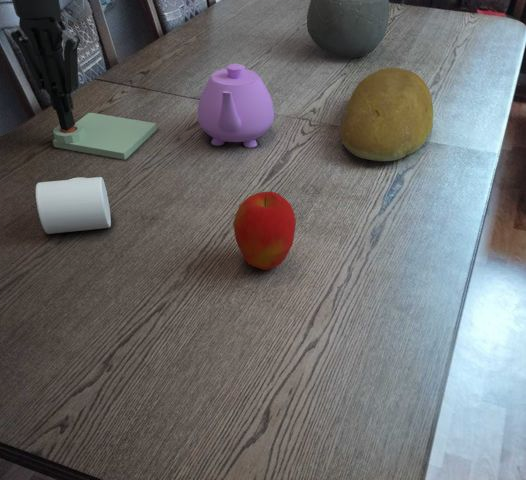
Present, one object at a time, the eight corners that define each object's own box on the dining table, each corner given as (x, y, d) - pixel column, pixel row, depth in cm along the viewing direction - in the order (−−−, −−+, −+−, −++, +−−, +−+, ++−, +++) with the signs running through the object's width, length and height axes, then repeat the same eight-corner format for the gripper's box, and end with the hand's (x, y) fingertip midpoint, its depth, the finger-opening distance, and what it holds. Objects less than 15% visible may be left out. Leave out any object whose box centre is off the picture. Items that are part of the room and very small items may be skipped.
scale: (51, 147, 110) (47, 133, 108) (89, 118, 120) (86, 104, 117) (124, 160, 107) (121, 146, 105) (157, 129, 116) (155, 115, 114)
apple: (254, 239, 89) (254, 170, 80) (304, 256, 86) (309, 187, 77) (223, 269, 84) (219, 199, 75) (275, 289, 80) (277, 218, 72)
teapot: (267, 166, 106) (268, 92, 96) (187, 161, 107) (180, 88, 97) (278, 117, 121) (280, 49, 111) (208, 113, 122) (204, 45, 112)
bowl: (291, 56, 147) (294, -9, 136) (327, 35, 159) (332, -26, 148) (363, 73, 139) (372, 5, 128) (395, 49, 151) (406, -15, 141)
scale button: (59, 137, 110) (57, 129, 108) (67, 131, 111) (65, 124, 110) (72, 139, 109) (70, 132, 108) (79, 133, 111) (77, 126, 110)
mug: (111, 237, 89) (101, 193, 83) (47, 243, 88) (33, 199, 82) (110, 198, 97) (101, 155, 92) (52, 204, 96) (39, 161, 90)
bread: (332, 164, 106) (337, 112, 99) (353, 93, 130) (359, 47, 123) (428, 176, 104) (441, 124, 96) (432, 101, 127) (443, 55, 120)
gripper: (78, -14, 93) (106, 123, 110) (13, -21, 96) (50, 114, 113) (53, -3, 88) (86, 139, 105) (-15, -10, 91) (28, 129, 108)
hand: (68, 126), depth 109 cm, fingers closed
